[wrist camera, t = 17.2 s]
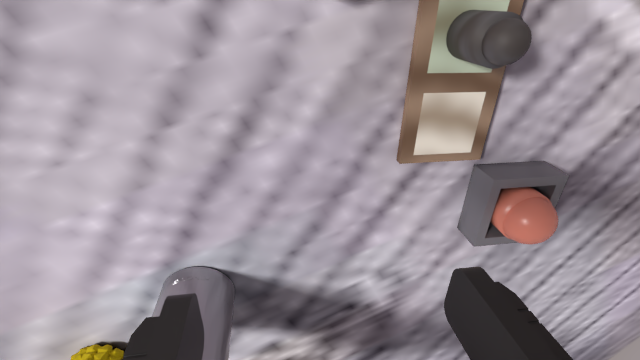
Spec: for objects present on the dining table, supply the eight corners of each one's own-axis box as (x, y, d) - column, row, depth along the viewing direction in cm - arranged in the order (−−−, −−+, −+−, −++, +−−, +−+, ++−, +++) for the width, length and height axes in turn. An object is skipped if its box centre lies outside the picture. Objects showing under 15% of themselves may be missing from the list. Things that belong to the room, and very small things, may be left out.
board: (475, 155, 40) (480, 159, 39) (396, 159, 38) (399, 163, 37) (521, -17, 31) (529, -18, 30) (422, -20, 30) (427, -21, 29)
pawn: (482, 59, 33) (535, 74, 26) (441, 59, 32) (486, 74, 26) (495, 10, 31) (556, 13, 24) (451, 8, 30) (503, 12, 24)
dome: (524, 223, 43) (560, 253, 38) (480, 227, 42) (510, 258, 37) (541, 181, 40) (583, 207, 35) (493, 184, 39) (529, 212, 34)
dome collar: (520, 222, 46) (541, 240, 43) (457, 227, 45) (473, 246, 41) (543, 160, 41) (569, 175, 38) (474, 164, 40) (494, 180, 37)
